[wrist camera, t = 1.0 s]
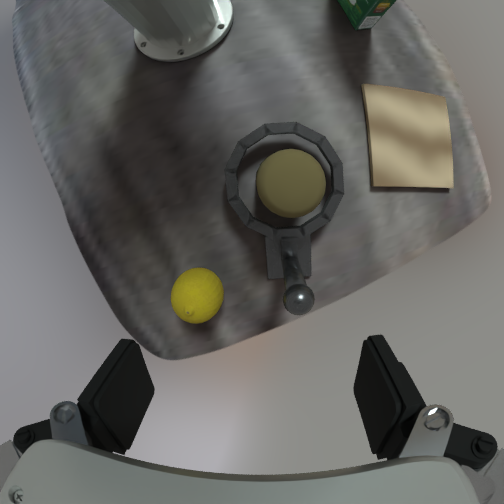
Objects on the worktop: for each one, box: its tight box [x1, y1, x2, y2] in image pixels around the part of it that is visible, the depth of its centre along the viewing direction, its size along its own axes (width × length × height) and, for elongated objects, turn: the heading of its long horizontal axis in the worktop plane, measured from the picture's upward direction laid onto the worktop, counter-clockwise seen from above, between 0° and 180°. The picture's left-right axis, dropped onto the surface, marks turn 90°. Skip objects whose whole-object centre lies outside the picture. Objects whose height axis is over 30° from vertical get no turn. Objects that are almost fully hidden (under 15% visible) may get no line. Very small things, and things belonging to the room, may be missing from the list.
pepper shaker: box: [256, 149, 326, 218], centre depth 23 cm, size 6×6×11 cm
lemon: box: [171, 268, 224, 323], centre depth 29 cm, size 6×6×8 cm
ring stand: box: [225, 122, 344, 315], centre depth 23 cm, size 17×12×12 cm
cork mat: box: [361, 84, 453, 188], centre depth 26 cm, size 12×12×1 cm
